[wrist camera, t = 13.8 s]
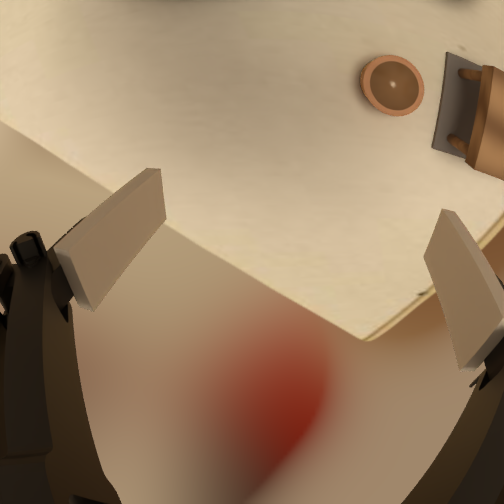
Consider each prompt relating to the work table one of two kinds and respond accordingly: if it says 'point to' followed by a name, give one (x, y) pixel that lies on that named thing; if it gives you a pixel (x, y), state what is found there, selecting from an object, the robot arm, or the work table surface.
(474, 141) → the wooden stool
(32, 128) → the work table surface
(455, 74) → the mat
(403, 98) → the pot
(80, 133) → the work table surface
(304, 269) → the work table surface
